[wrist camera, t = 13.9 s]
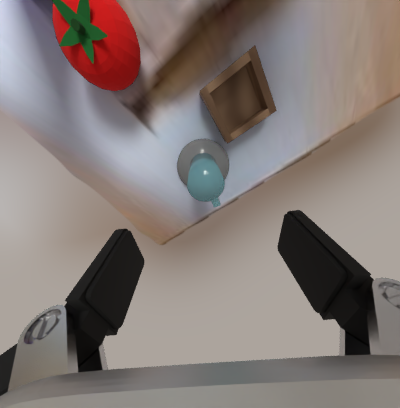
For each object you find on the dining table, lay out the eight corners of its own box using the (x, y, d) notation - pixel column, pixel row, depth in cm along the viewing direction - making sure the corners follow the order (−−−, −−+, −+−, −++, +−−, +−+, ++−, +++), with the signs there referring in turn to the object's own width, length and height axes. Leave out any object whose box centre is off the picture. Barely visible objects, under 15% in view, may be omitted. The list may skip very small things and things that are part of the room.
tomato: (76, 65, 25) (15, 38, 17) (94, -12, 21) (25, -101, 13) (133, 107, 29) (106, 103, 20) (158, 47, 25) (138, 9, 16)
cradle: (248, 54, 25) (255, 45, 22) (268, 111, 29) (276, 110, 26) (199, 93, 28) (200, 90, 25) (224, 141, 32) (227, 143, 29)
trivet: (211, 126, 31) (211, 127, 30) (236, 172, 36) (237, 174, 35) (167, 159, 34) (166, 160, 33) (196, 197, 39) (196, 199, 38)
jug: (185, 159, 33) (180, 176, 23) (211, 147, 32) (217, 160, 22) (202, 196, 38) (204, 222, 28) (225, 187, 37) (235, 211, 27)
